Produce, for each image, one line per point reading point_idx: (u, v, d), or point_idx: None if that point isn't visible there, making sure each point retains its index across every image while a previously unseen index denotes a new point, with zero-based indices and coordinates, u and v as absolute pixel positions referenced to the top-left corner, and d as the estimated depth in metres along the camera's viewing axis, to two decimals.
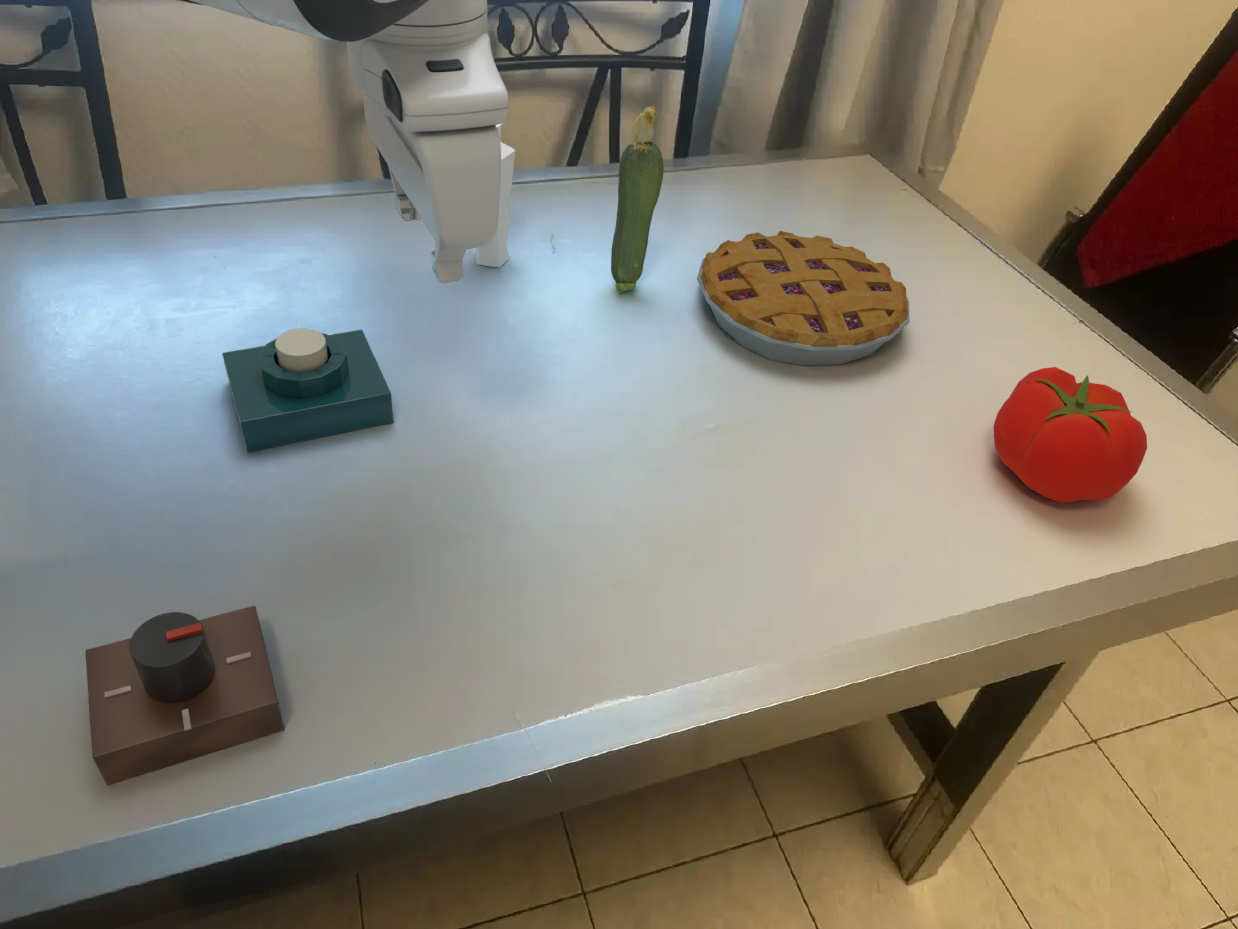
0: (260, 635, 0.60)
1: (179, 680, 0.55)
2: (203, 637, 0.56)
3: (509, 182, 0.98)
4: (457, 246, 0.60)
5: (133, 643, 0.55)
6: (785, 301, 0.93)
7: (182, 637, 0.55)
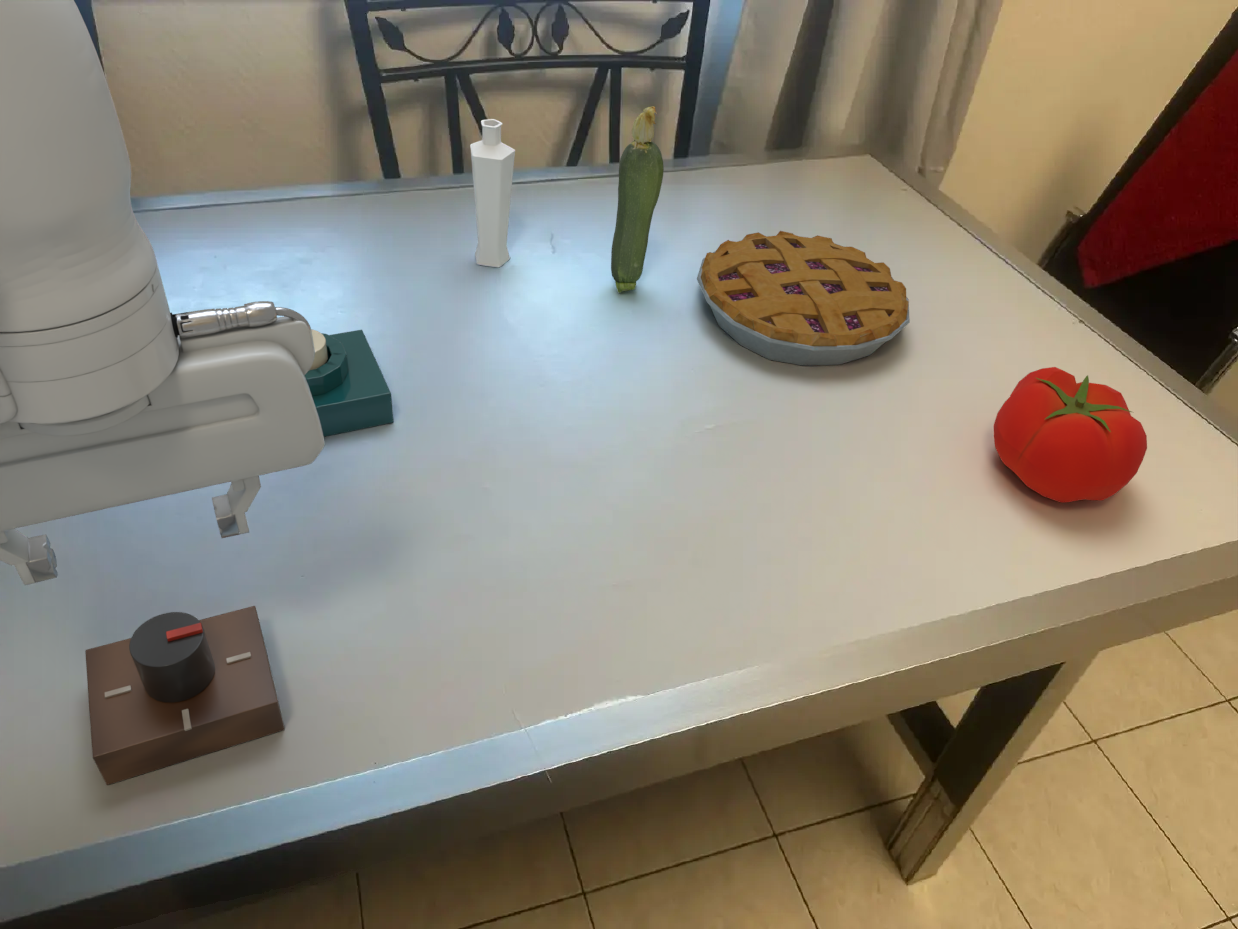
0: (260, 635, 0.60)
1: (179, 680, 0.55)
2: (203, 637, 0.56)
3: (509, 182, 0.98)
4: None
5: (133, 643, 0.55)
6: (785, 301, 0.93)
7: (182, 637, 0.55)
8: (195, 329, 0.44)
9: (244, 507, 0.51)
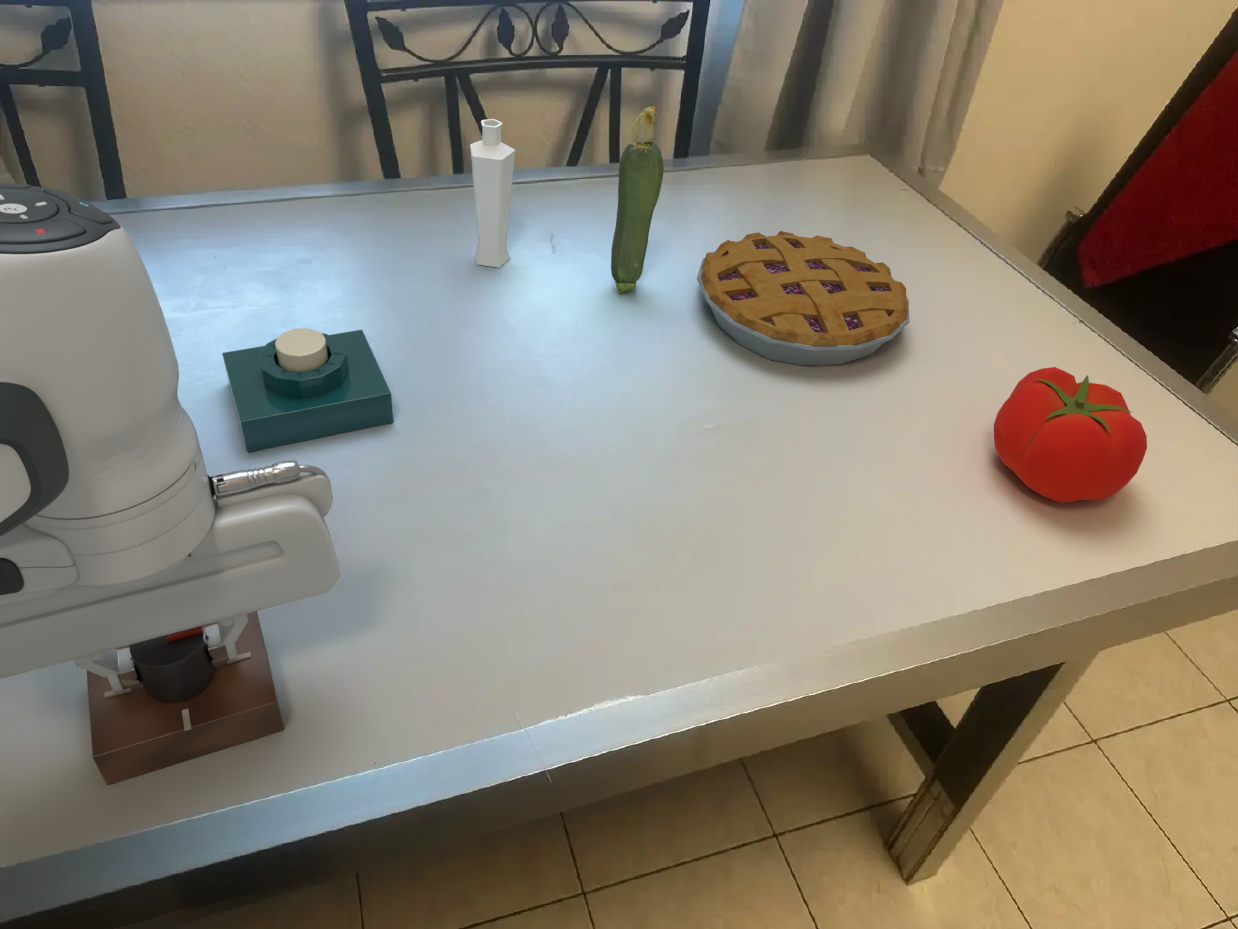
0: (260, 635, 0.60)
1: (179, 680, 0.55)
2: (203, 637, 0.56)
3: (509, 182, 0.98)
4: None
5: None
6: (785, 301, 0.93)
7: (183, 637, 0.55)
8: (229, 490, 0.50)
9: (233, 638, 0.56)
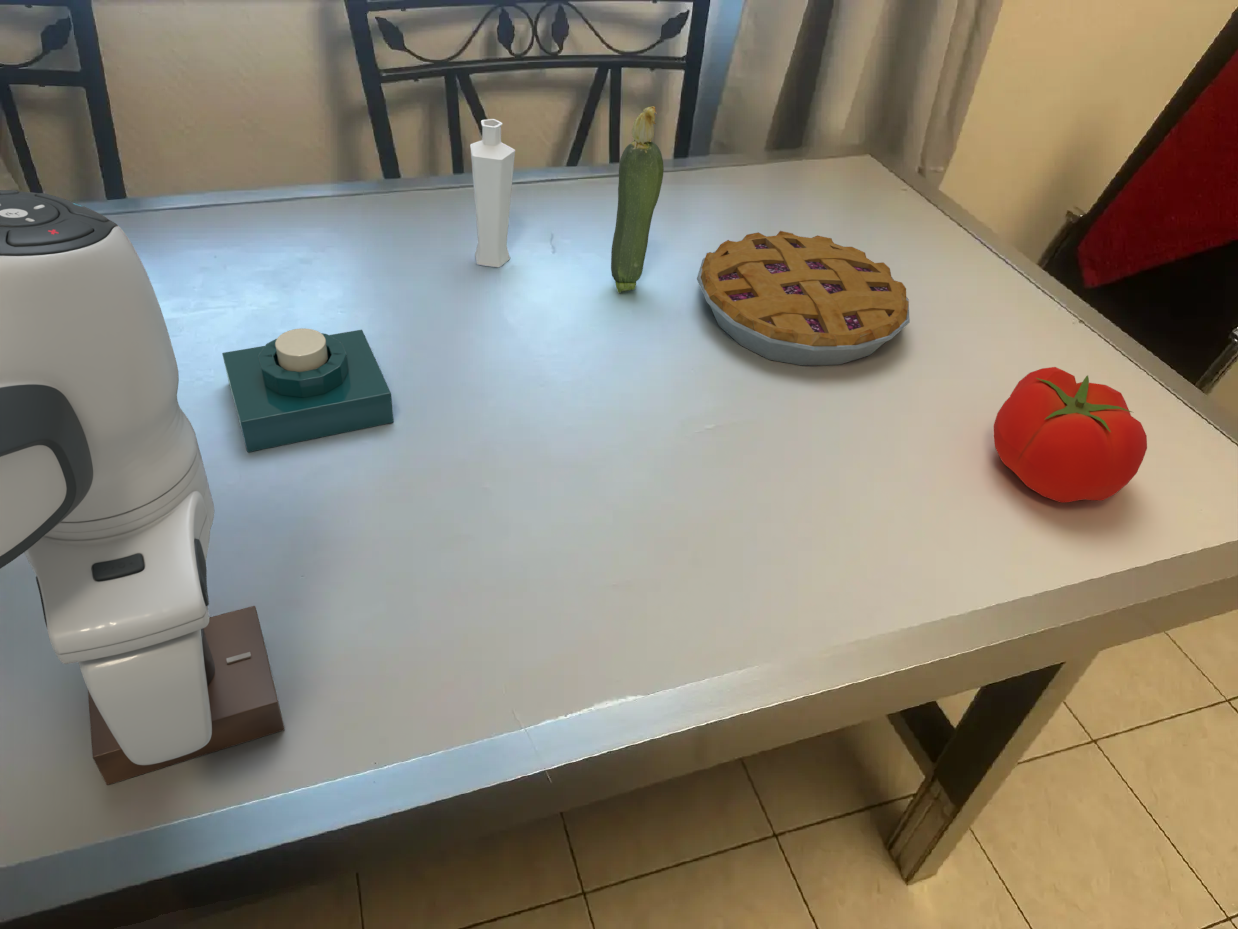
0: (260, 635, 0.60)
1: (208, 646, 0.57)
2: None
3: (509, 182, 0.98)
4: (157, 762, 0.47)
5: None
6: (785, 301, 0.93)
7: None
8: None
9: None
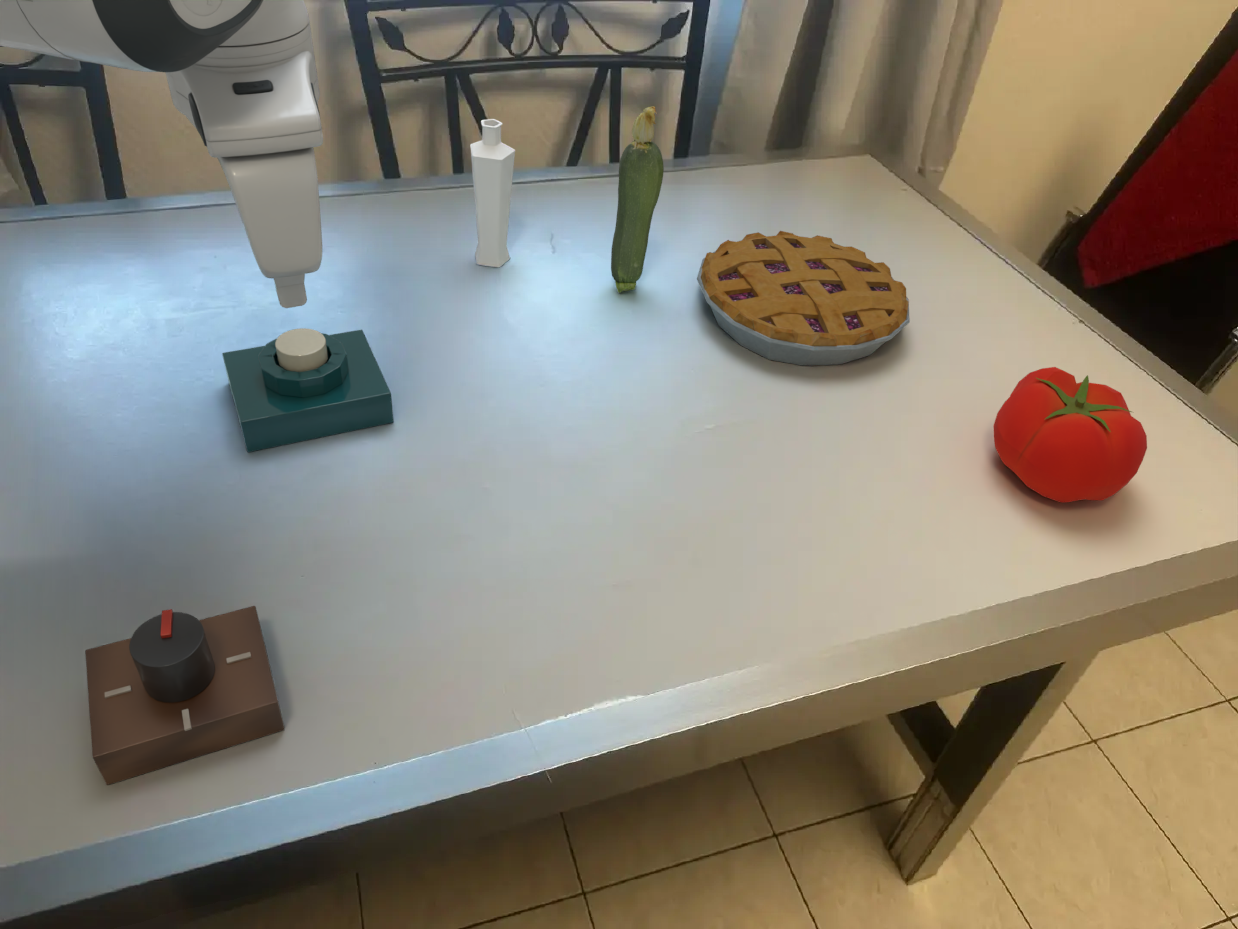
0: (260, 635, 0.60)
1: (208, 646, 0.57)
2: None
3: (509, 182, 0.98)
4: (279, 273, 0.58)
5: (159, 663, 0.54)
6: (785, 301, 0.93)
7: (171, 626, 0.56)
8: None
9: None
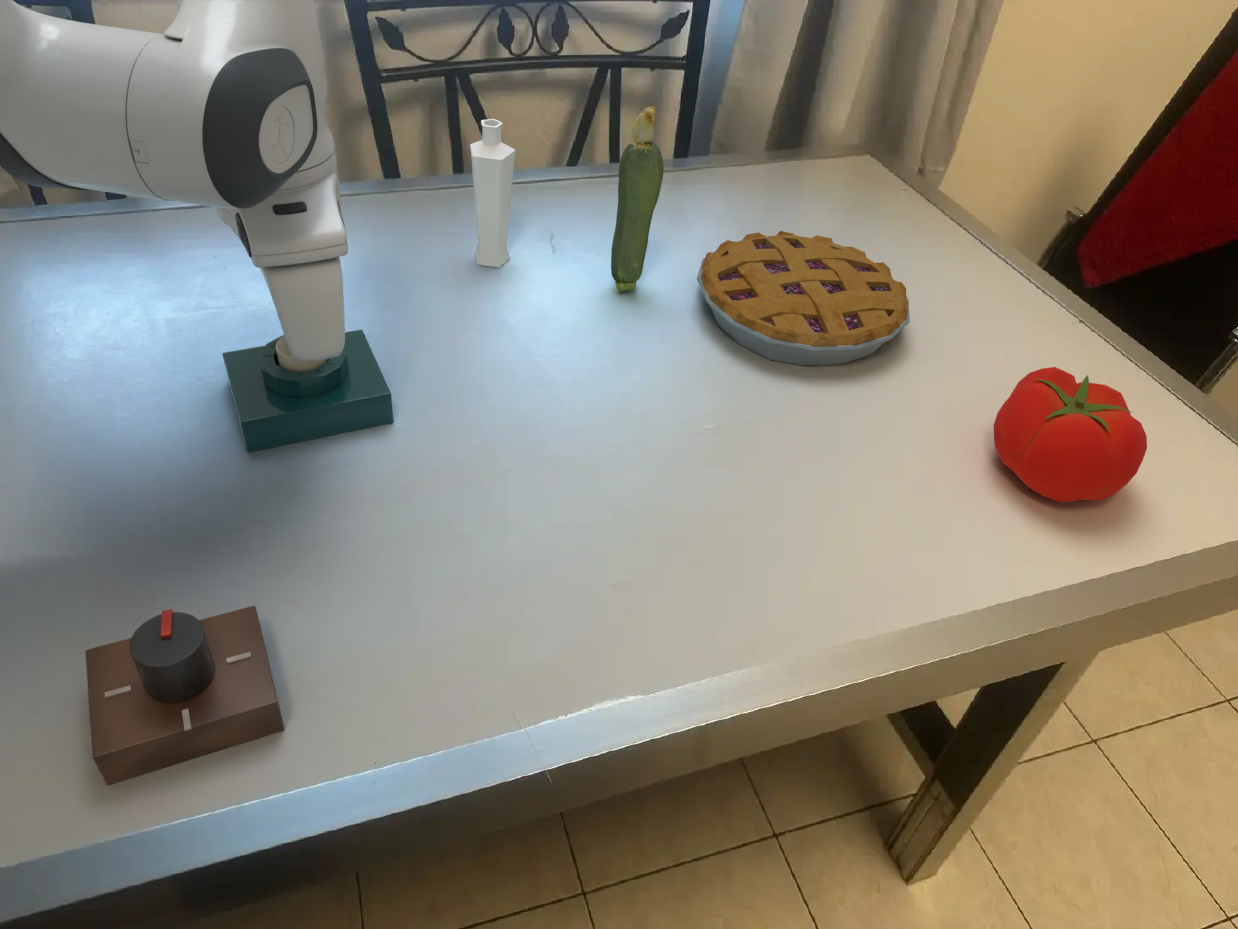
0: (260, 635, 0.60)
1: (208, 646, 0.57)
2: None
3: (509, 182, 0.98)
4: (308, 359, 0.69)
5: (159, 663, 0.54)
6: (785, 301, 0.93)
7: (171, 626, 0.56)
8: None
9: None
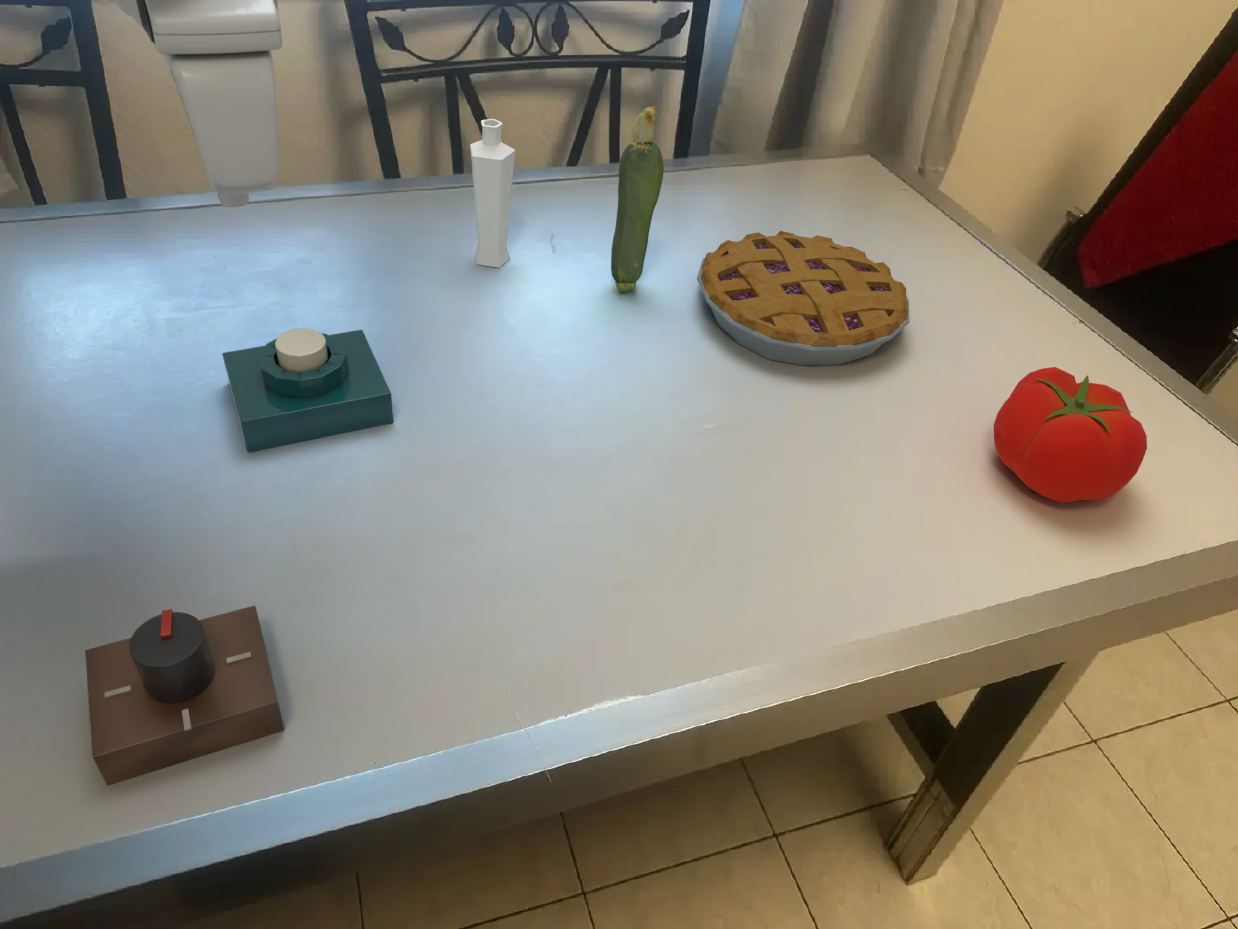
0: (260, 635, 0.60)
1: (208, 646, 0.57)
2: None
3: (509, 182, 0.98)
4: (232, 188, 0.54)
5: (159, 663, 0.54)
6: (785, 301, 0.93)
7: (171, 626, 0.56)
8: None
9: None
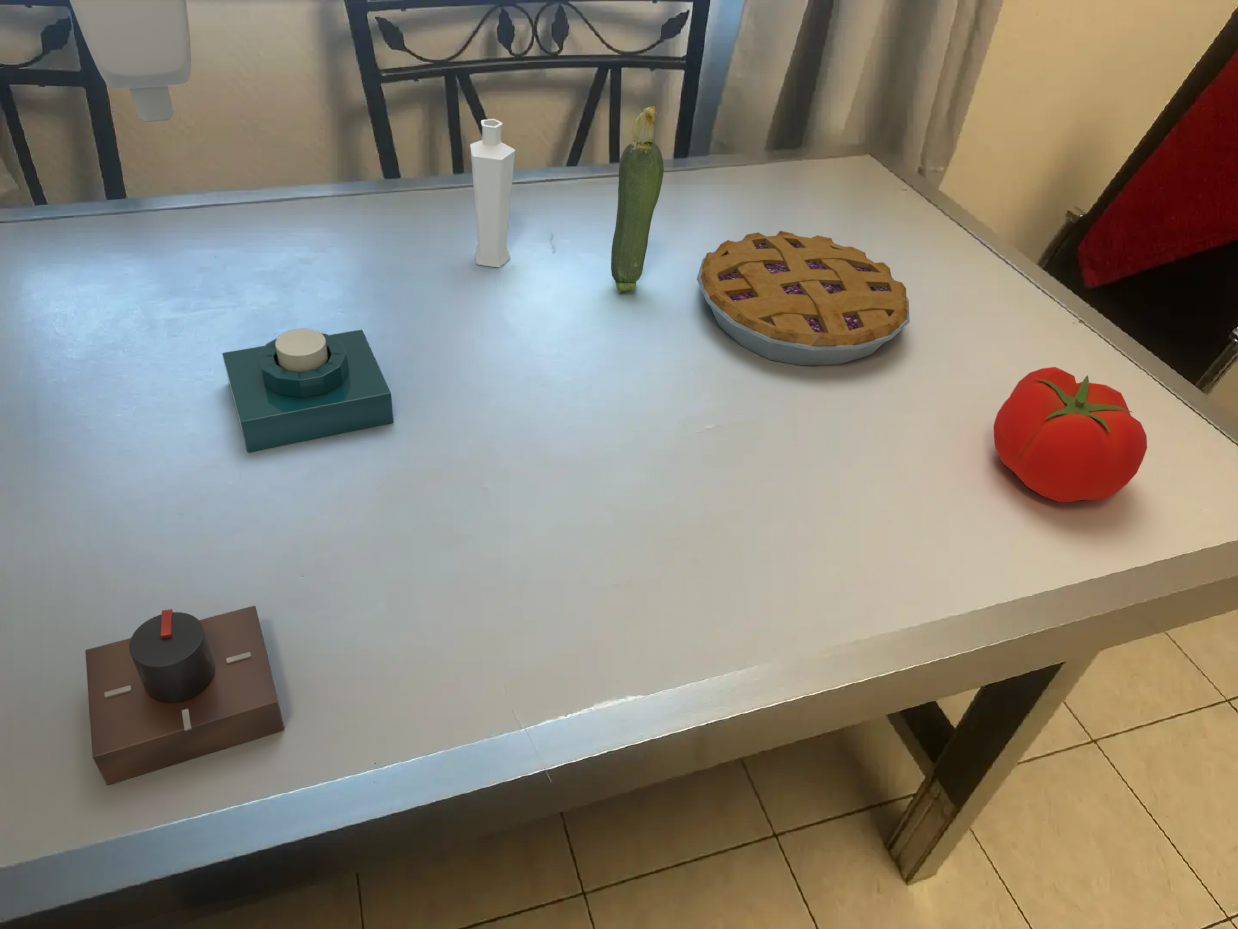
0: (260, 635, 0.60)
1: (208, 646, 0.57)
2: None
3: (509, 182, 0.98)
4: (128, 78, 0.41)
5: (159, 663, 0.54)
6: (785, 301, 0.93)
7: (171, 626, 0.56)
8: None
9: None
